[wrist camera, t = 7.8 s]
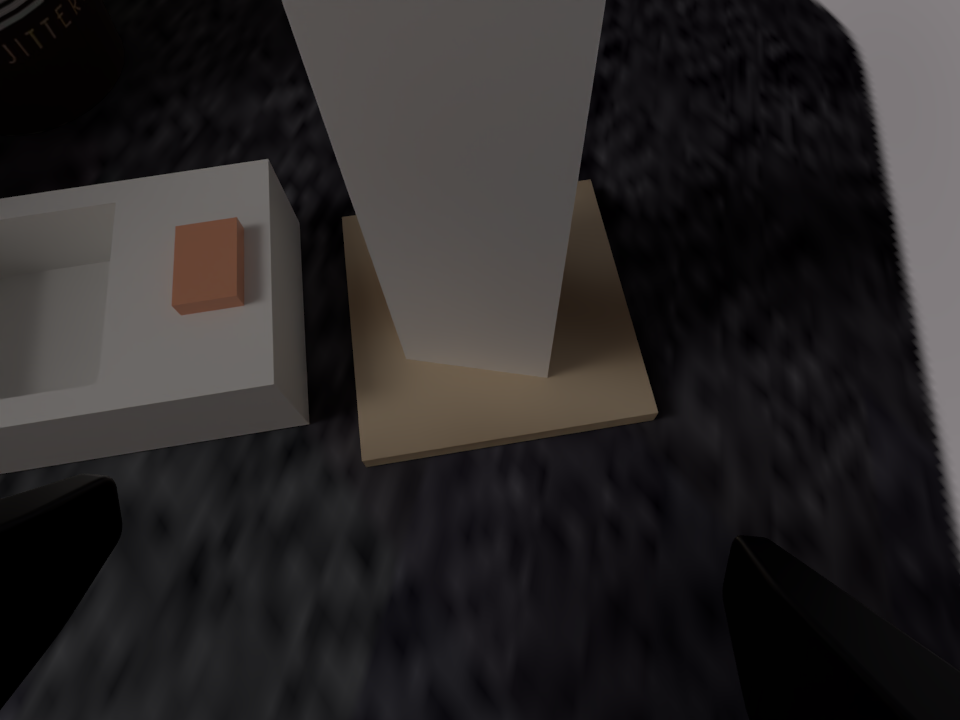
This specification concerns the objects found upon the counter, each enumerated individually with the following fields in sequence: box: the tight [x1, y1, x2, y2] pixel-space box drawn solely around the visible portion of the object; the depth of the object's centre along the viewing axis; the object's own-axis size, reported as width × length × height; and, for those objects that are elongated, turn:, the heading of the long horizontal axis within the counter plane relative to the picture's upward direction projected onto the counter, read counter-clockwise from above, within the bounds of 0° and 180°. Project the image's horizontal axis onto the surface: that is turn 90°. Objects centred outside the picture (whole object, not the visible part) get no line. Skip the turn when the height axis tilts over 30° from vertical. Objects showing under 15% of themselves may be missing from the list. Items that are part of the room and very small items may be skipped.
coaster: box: [342, 180, 658, 467], centre depth 19 cm, size 8×8×1 cm
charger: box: [282, 0, 606, 378], centre depth 13 cm, size 4×4×12 cm
